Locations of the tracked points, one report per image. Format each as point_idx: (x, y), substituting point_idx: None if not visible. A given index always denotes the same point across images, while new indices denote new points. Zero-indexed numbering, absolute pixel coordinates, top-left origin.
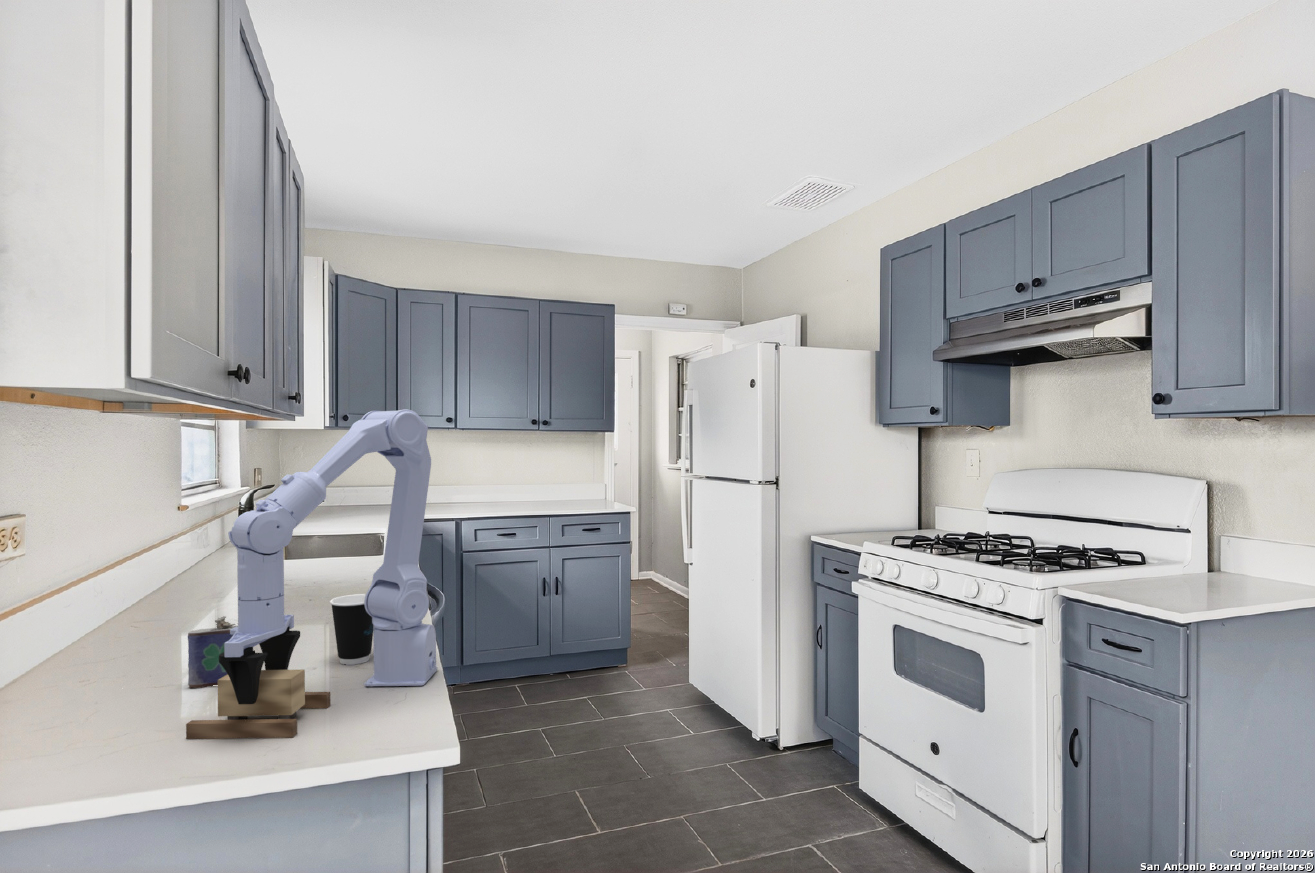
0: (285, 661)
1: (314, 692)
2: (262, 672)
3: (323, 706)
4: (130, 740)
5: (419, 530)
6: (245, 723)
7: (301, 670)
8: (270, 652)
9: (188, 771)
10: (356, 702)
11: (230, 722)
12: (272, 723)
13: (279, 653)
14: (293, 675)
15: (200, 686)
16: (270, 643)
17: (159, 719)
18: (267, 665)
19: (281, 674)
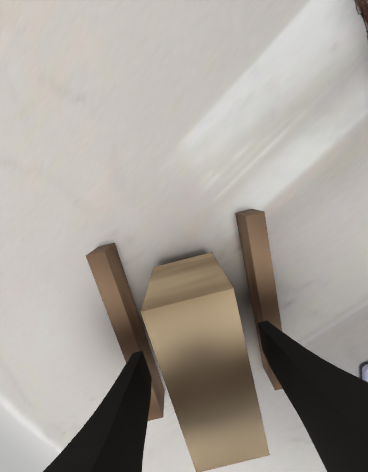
0: (299, 413)
1: None
2: (230, 379)
3: (264, 365)
4: (58, 143)
5: None
6: (124, 356)
7: (259, 454)
8: (316, 409)
9: (11, 346)
10: None
11: (119, 330)
12: None
13: (316, 430)
14: (220, 461)
15: (361, 6)
16: (348, 457)
17: (160, 100)
18: (284, 358)
19: (223, 432)
